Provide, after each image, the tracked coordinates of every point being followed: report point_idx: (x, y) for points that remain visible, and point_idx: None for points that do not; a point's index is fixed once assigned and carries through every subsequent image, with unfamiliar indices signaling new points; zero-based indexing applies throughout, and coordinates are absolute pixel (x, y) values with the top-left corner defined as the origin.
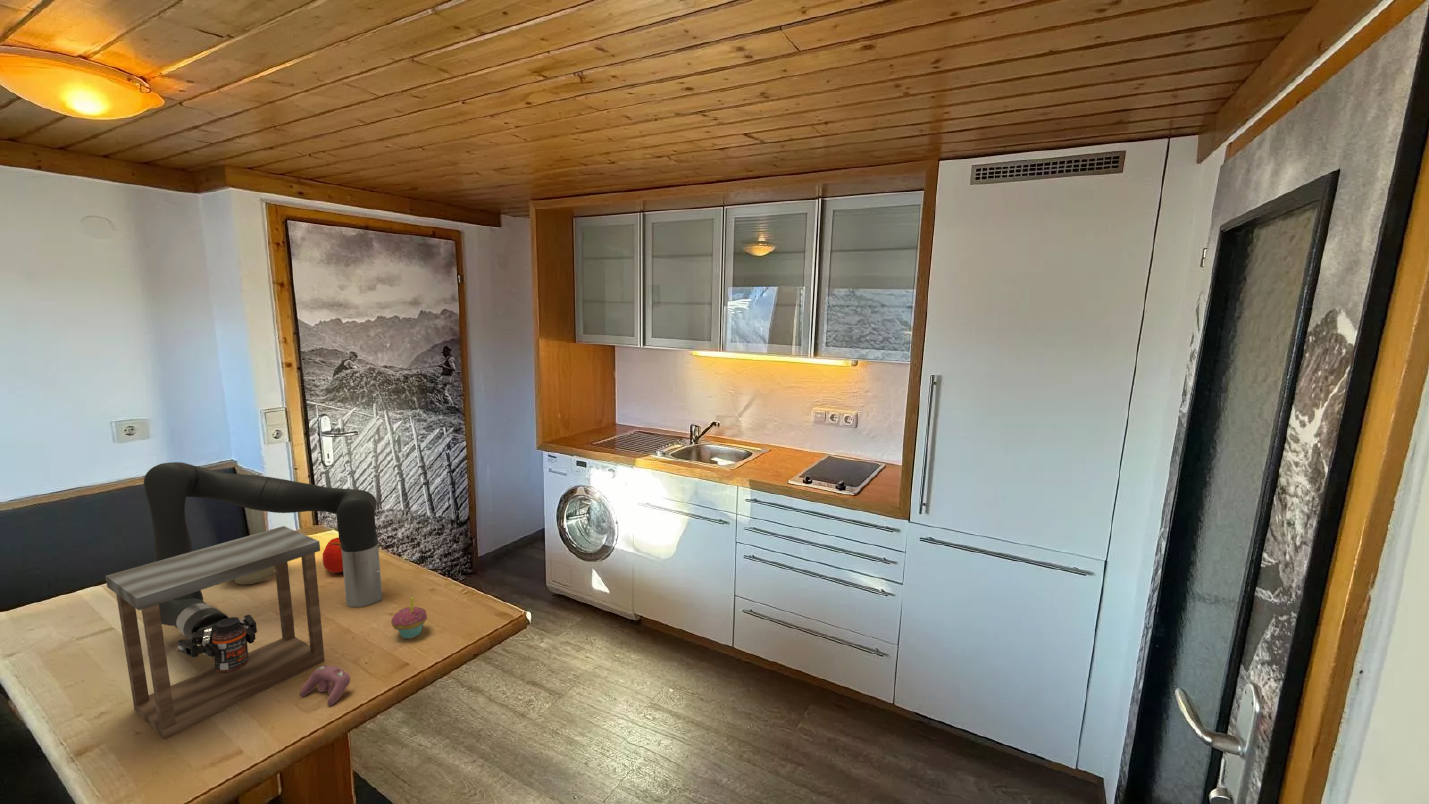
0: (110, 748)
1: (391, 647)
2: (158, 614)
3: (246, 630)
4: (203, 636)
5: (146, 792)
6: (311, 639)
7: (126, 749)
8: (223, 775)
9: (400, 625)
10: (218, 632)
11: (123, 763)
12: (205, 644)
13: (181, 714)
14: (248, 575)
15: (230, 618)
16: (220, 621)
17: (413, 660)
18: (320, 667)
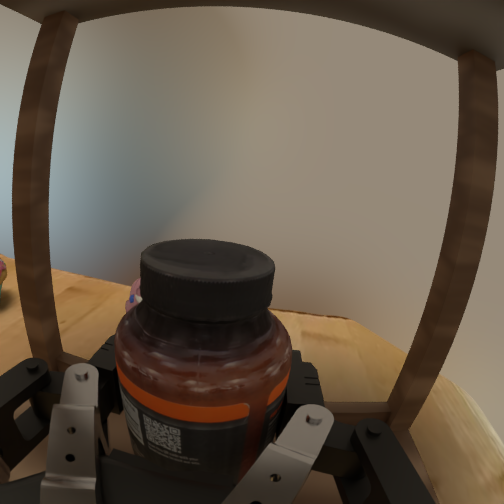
0: (468, 464)
1: (20, 312)
2: (461, 88)
3: (108, 356)
4: (307, 470)
5: (403, 352)
6: (49, 322)
7: (444, 445)
8: (330, 322)
9: (3, 271)
10: (266, 311)
11: (441, 414)
12: (318, 405)
13: (375, 403)
14: None
15: (170, 259)
16: (234, 269)
17: (62, 286)
18: (137, 299)
